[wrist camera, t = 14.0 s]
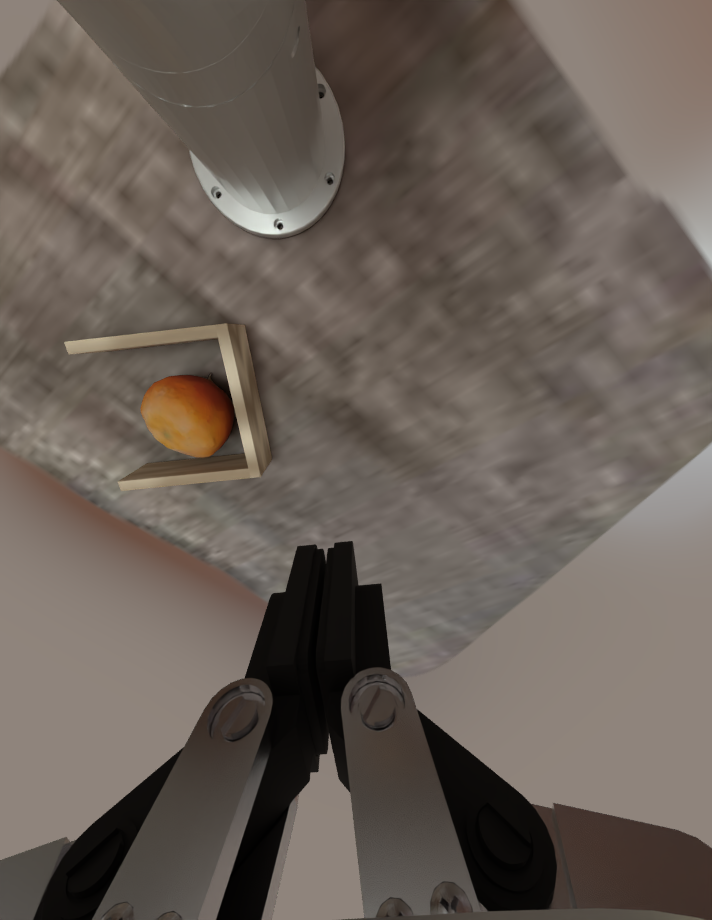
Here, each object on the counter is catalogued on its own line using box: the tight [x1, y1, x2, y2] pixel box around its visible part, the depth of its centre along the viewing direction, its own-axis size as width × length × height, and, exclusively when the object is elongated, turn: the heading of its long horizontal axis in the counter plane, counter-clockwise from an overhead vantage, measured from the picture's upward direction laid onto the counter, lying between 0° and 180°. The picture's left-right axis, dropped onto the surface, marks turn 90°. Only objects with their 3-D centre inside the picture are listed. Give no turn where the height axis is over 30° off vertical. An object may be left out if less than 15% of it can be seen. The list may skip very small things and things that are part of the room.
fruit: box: [141, 373, 235, 457], centre depth 33 cm, size 8×8×8 cm
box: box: [64, 323, 272, 491], centre depth 33 cm, size 14×14×5 cm
